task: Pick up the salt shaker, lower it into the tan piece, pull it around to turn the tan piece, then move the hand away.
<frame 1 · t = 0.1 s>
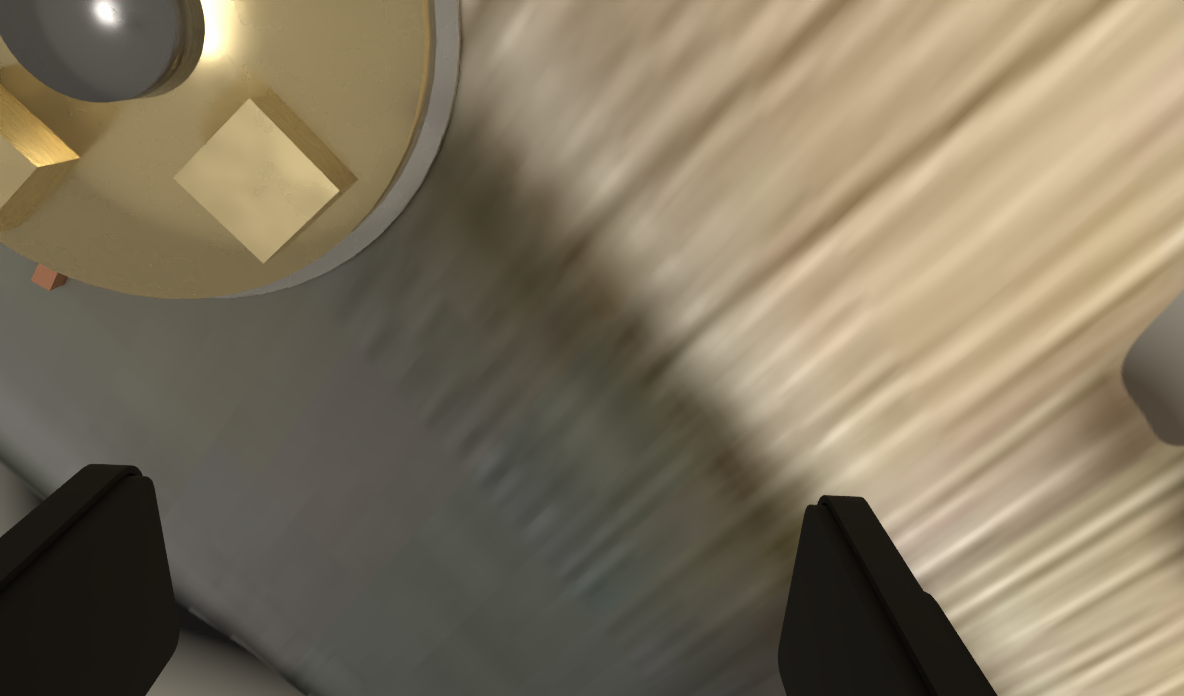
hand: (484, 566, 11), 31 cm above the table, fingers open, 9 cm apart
tan piece: (122, 13, 32), point 4 cm above the table, hinge at 0.0°
nut base: (171, 16, 36), on the table
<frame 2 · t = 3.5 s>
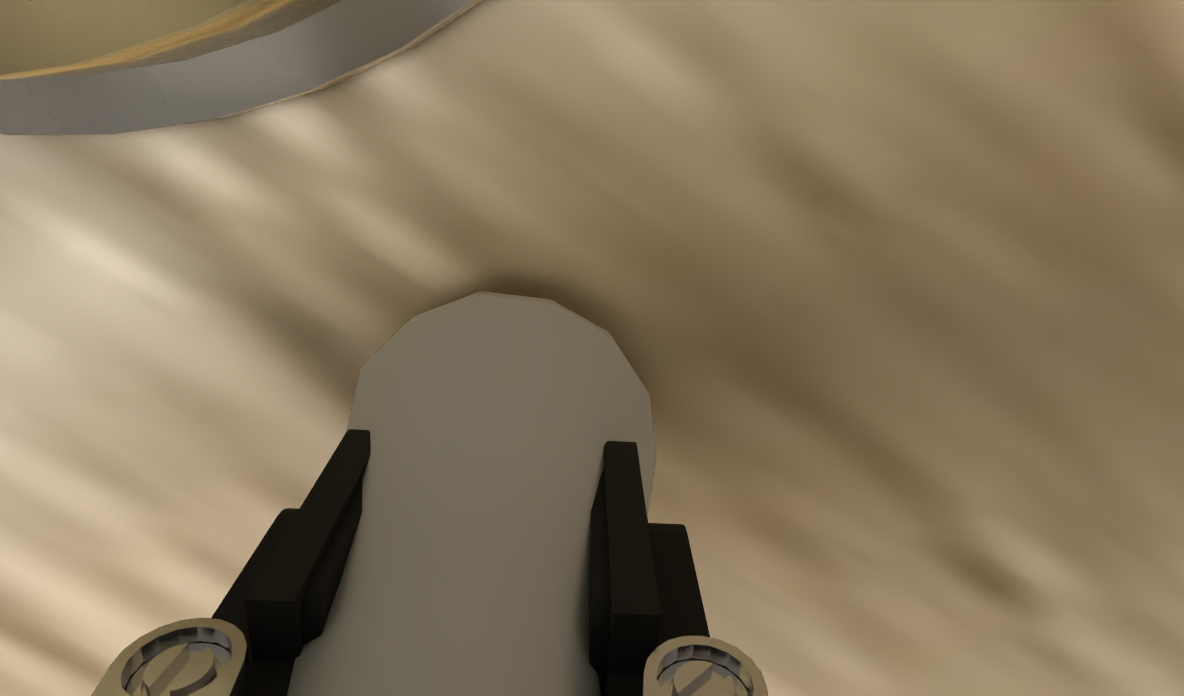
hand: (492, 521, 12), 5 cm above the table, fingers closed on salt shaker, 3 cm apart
salt shaker: (514, 384, 17), on the table, touching gripper
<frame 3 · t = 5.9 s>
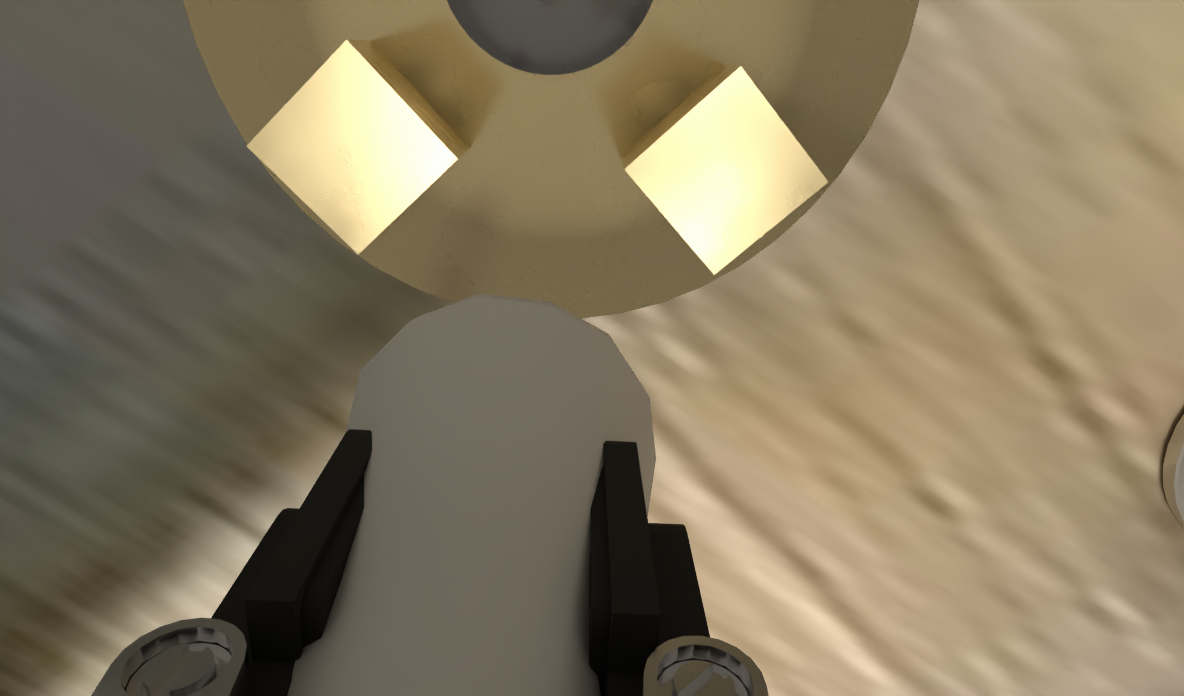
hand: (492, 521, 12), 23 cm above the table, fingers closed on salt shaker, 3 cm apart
salt shaker: (514, 386, 17), point 18 cm above the table, touching gripper
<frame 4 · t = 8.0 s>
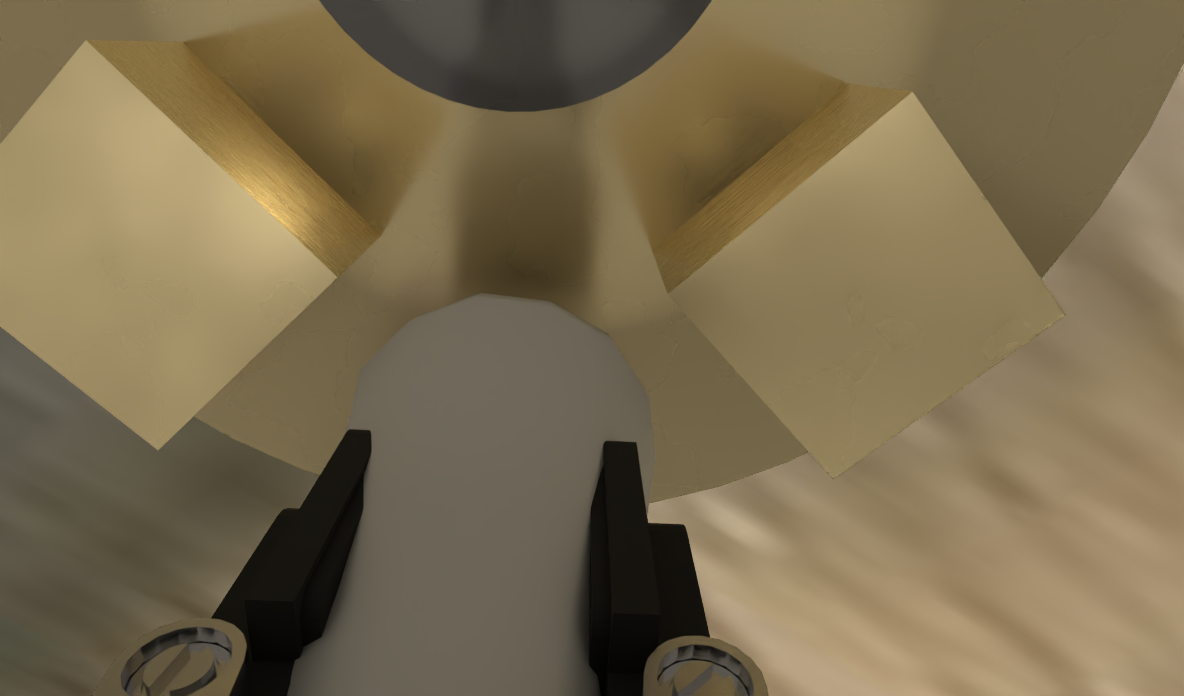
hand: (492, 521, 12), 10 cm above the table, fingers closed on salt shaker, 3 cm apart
salt shaker: (513, 386, 17), point 4 cm above the table, touching gripper
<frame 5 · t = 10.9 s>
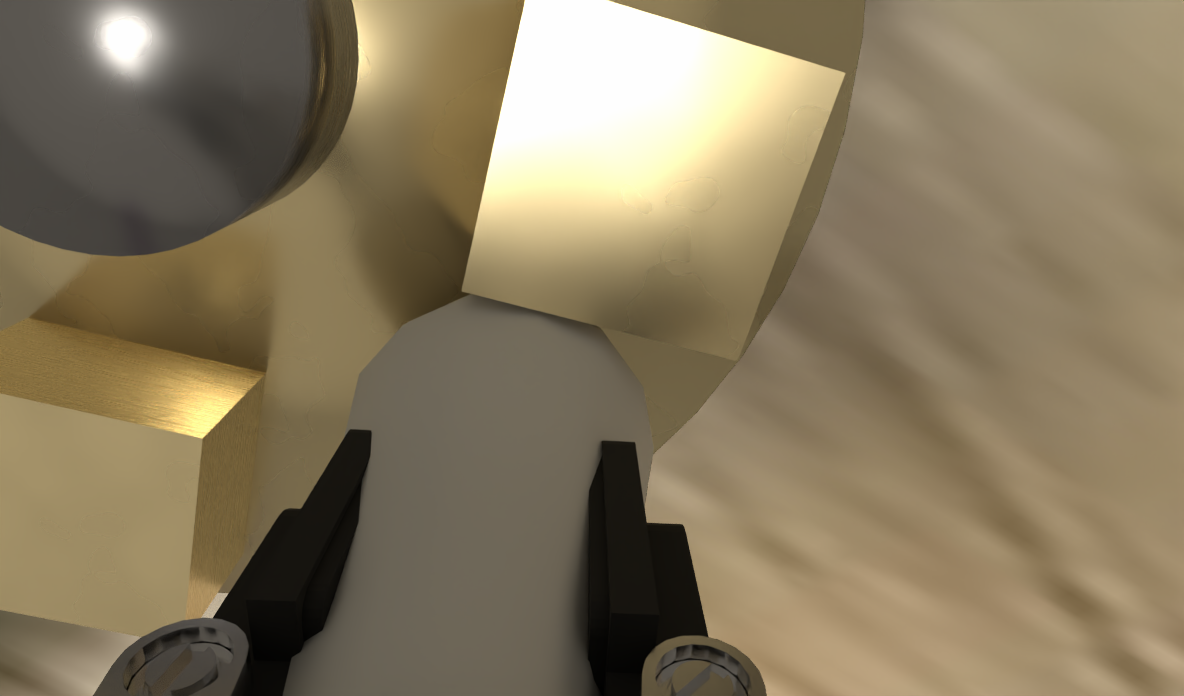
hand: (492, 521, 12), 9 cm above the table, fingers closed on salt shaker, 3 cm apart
tan piece: (169, 32, 14), point 4 cm above the table, hinge at 33.3°, touching salt shaker
salt shaker: (513, 388, 17), point 4 cm above the table, touching gripper, tan piece
when the fingers open (10 cm above the table, at t = 12.9 s): salt shaker stays where it is, resting on tan piece.
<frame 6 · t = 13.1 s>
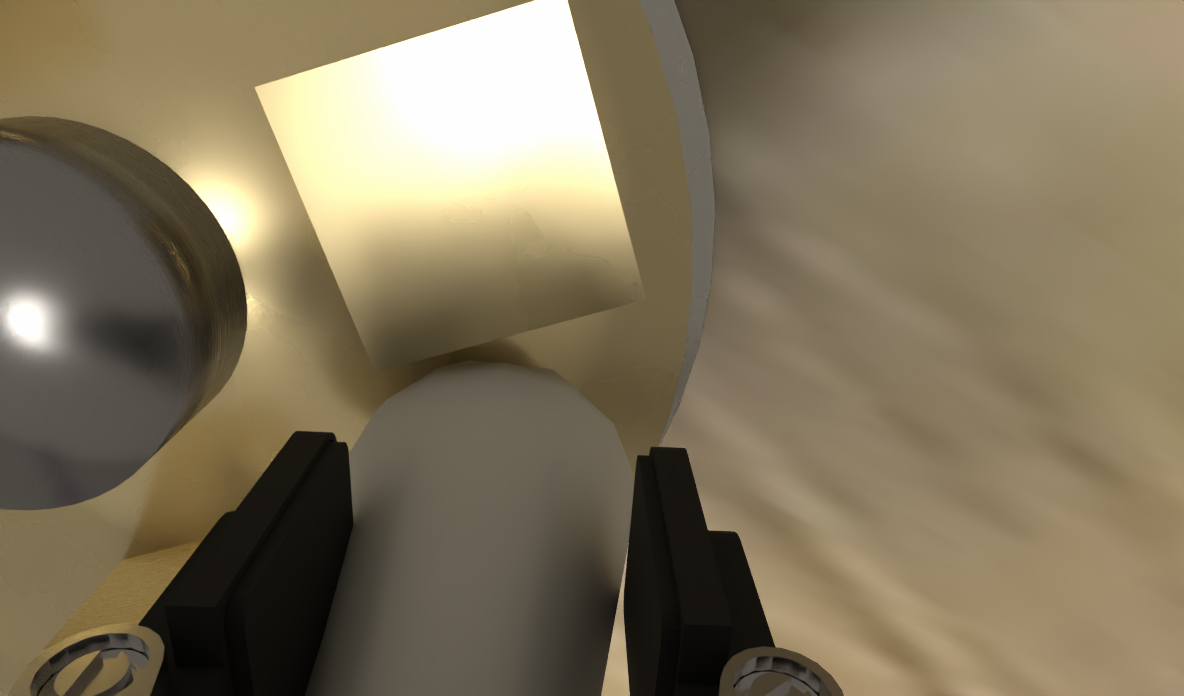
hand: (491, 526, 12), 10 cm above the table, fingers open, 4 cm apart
tan piece: (78, 288, 16), point 4 cm above the table, hinge at 64.0°, touching salt shaker
salt shaker: (505, 432, 17), point 4 cm above the table, touching tan piece
nut base: (177, 241, 20), on the table
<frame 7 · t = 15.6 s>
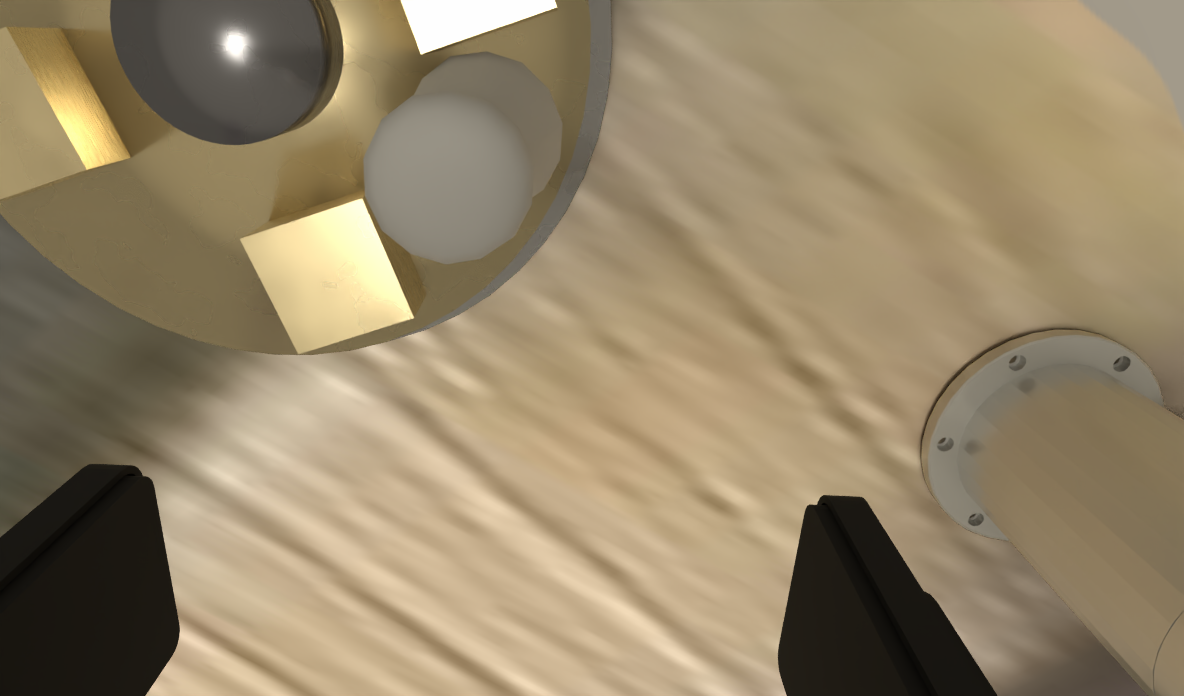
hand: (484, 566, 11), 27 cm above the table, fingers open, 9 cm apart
tan piece: (250, 40, 29), point 4 cm above the table, hinge at 64.0°, touching salt shaker
salt shaker: (491, 128, 30), point 4 cm above the table, touching tan piece
nut base: (287, 40, 32), on the table
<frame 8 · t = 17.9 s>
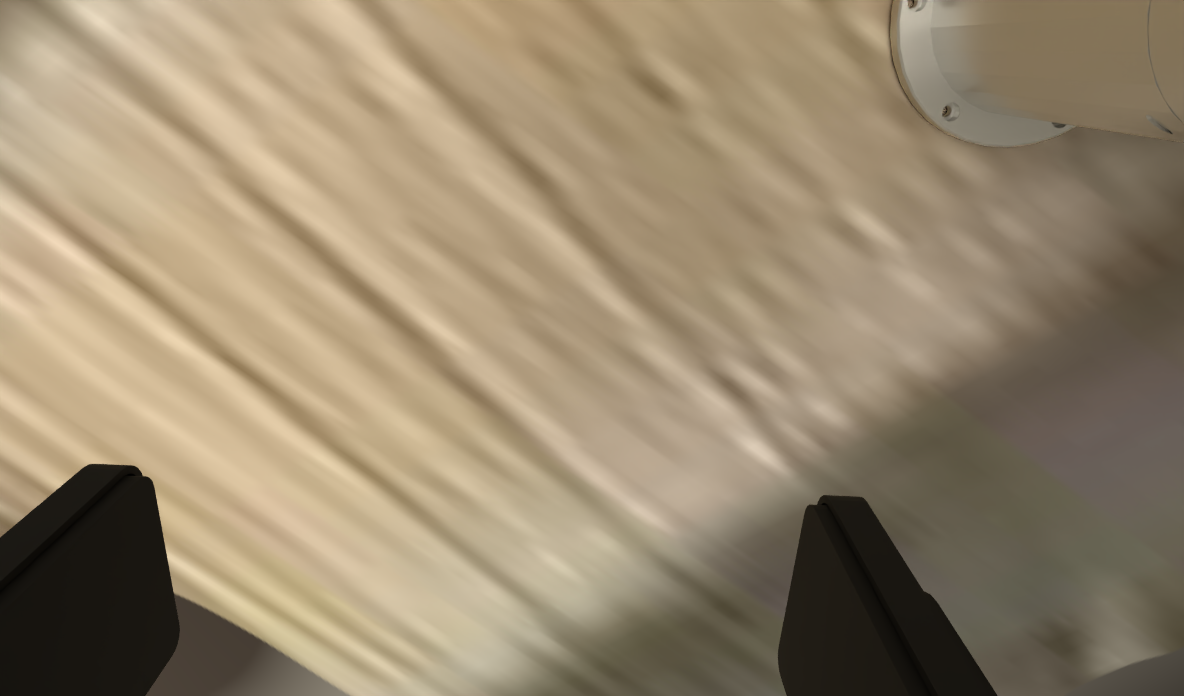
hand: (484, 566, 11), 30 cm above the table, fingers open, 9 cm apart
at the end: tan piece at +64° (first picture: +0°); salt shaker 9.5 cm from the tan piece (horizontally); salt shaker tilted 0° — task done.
